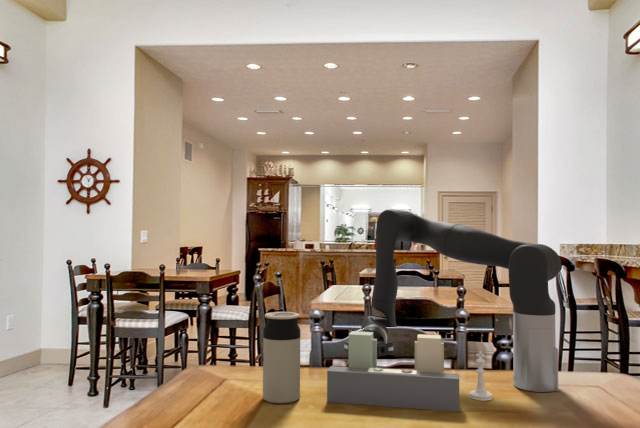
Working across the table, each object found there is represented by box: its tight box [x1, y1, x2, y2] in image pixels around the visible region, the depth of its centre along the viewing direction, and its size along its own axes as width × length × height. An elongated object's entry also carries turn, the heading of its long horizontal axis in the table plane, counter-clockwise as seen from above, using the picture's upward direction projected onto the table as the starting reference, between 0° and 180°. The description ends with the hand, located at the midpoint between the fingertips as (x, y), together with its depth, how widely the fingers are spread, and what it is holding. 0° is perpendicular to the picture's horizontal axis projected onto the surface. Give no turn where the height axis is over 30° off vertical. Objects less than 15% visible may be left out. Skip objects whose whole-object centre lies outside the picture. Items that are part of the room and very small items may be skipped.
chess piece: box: [468, 350, 493, 402], centre depth 116 cm, size 5×5×10 cm
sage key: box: [347, 330, 378, 368], centre depth 120 cm, size 6×5×11 cm
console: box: [326, 365, 460, 413], centre depth 115 cm, size 27×12×7 cm, turn 78°
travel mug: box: [262, 311, 301, 405], centre depth 114 cm, size 8×8×18 cm
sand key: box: [414, 333, 445, 373], centre depth 117 cm, size 6×5×11 cm
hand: (364, 354), depth 125 cm, fingers closed
